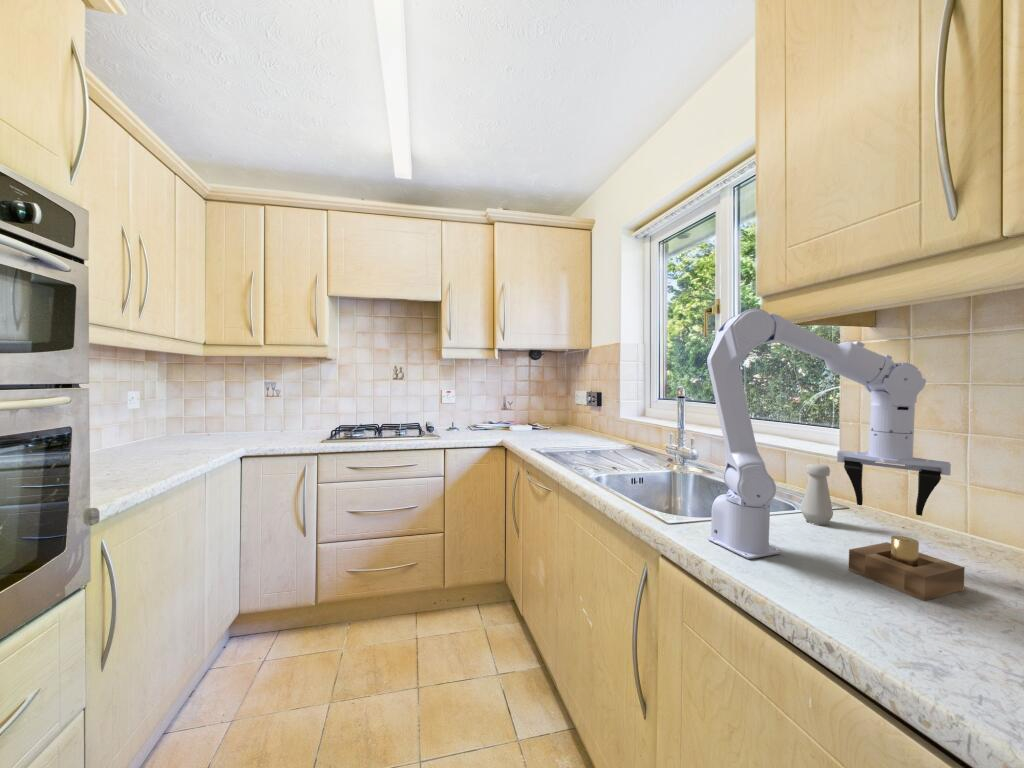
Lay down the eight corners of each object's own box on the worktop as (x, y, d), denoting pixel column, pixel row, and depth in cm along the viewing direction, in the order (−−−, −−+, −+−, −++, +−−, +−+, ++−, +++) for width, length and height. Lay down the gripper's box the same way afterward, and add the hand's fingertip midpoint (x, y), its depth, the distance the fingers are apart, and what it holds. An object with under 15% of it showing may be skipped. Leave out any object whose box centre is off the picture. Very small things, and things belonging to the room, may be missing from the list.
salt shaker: (819, 517, 96) (821, 461, 96) (839, 526, 90) (841, 467, 90) (794, 517, 96) (796, 461, 96) (813, 526, 90) (815, 467, 90)
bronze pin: (886, 574, 67) (887, 537, 67) (894, 570, 69) (896, 534, 69) (912, 583, 65) (914, 544, 64) (920, 578, 66) (922, 541, 66)
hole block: (848, 570, 70) (849, 549, 70) (886, 561, 73) (887, 542, 73) (924, 600, 60) (925, 577, 60) (963, 589, 64) (964, 567, 64)
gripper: (836, 429, 75) (833, 504, 75) (954, 438, 65) (950, 525, 65) (839, 426, 80) (837, 496, 80) (949, 434, 70) (946, 514, 70)
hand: (888, 508), depth 73 cm, fingers open, 7 cm apart
